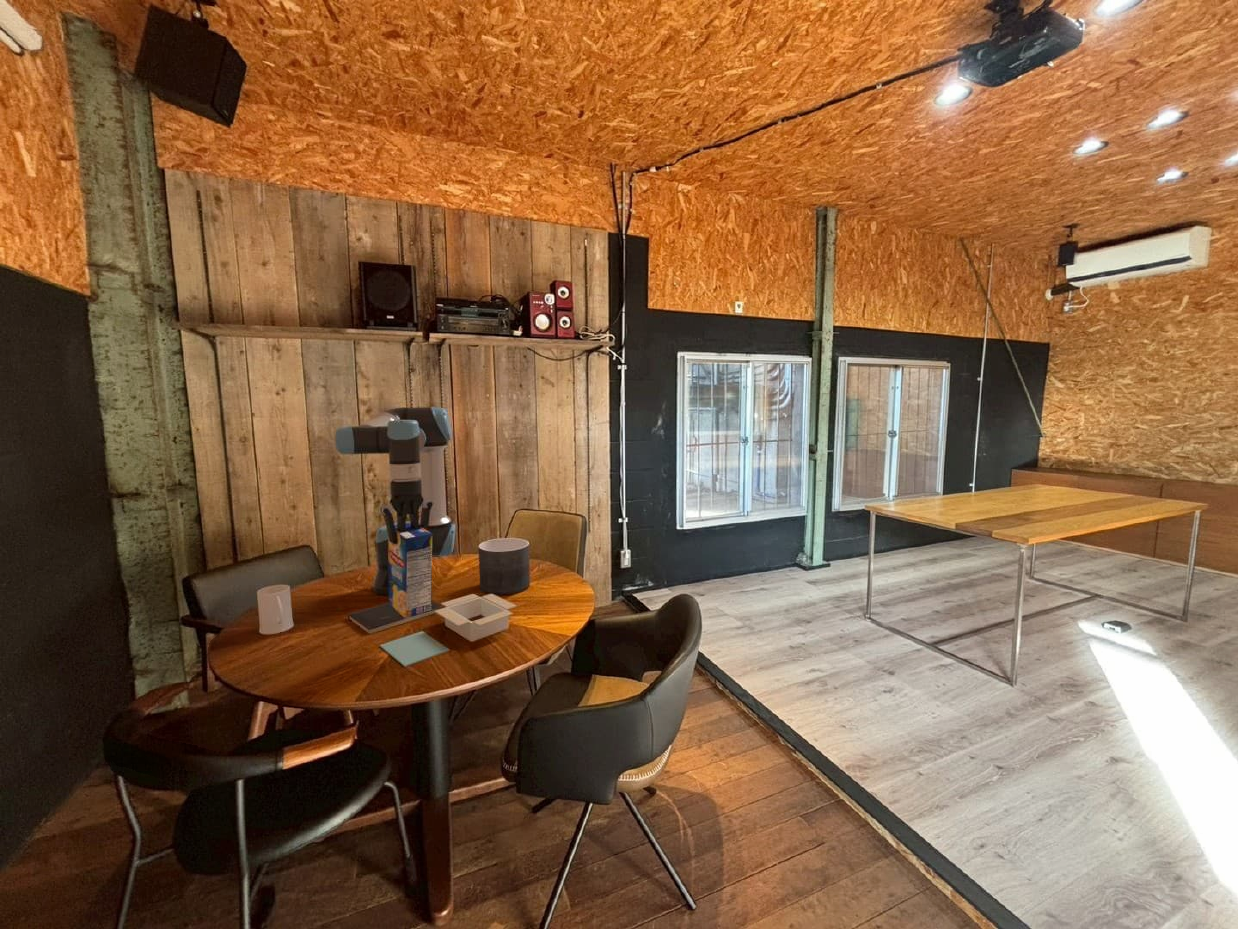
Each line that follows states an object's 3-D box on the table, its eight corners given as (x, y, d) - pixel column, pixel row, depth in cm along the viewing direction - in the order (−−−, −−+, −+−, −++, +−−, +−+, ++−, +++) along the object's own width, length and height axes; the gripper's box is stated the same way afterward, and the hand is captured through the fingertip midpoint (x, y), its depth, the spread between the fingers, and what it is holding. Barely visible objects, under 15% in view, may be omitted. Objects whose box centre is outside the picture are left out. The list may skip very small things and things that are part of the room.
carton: (428, 625, 154) (427, 607, 153) (485, 607, 168) (484, 590, 167) (466, 650, 139) (465, 629, 138) (525, 628, 152) (525, 609, 152)
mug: (297, 633, 149) (294, 593, 148) (261, 641, 144) (258, 600, 142) (291, 619, 158) (288, 582, 157) (258, 627, 153) (254, 588, 152)
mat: (379, 646, 141) (379, 645, 141) (422, 632, 150) (422, 631, 149) (404, 667, 130) (404, 665, 130) (449, 650, 138) (449, 649, 138)
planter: (540, 584, 190) (539, 542, 188) (505, 599, 175) (504, 554, 173) (505, 575, 199) (504, 535, 197) (469, 589, 184) (467, 546, 182)
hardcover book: (443, 613, 165) (443, 606, 165) (369, 636, 148) (368, 629, 148) (419, 600, 176) (419, 593, 175) (348, 620, 159) (347, 613, 159)
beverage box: (405, 619, 133) (406, 538, 129) (388, 602, 141) (388, 526, 136) (431, 611, 138) (432, 533, 134) (413, 596, 146) (413, 522, 141)
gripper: (382, 484, 126) (387, 576, 129) (439, 477, 137) (443, 563, 140) (370, 480, 131) (375, 570, 134) (426, 475, 142) (430, 557, 145)
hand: (410, 566), depth 137 cm, fingers closed on beverage box, 2 cm apart
